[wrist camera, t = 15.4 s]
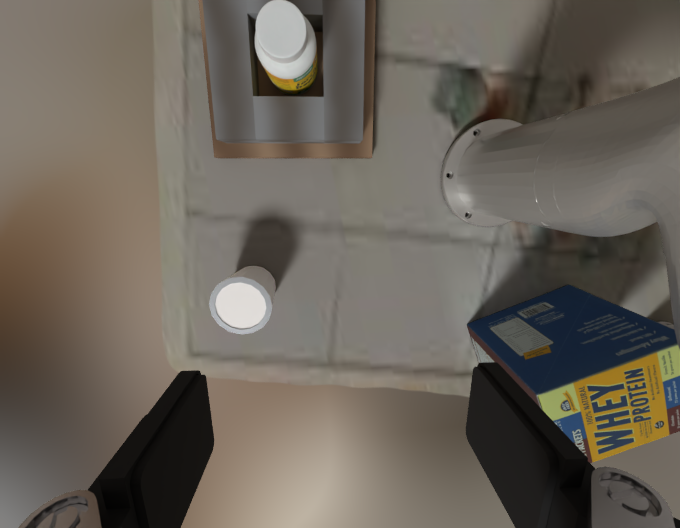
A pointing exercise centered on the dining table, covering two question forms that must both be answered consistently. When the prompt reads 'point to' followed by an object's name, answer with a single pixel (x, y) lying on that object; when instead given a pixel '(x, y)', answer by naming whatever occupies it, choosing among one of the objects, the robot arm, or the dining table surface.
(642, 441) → the protein box
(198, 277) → the dining table surface
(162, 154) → the dining table surface
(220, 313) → the white and grey cylinder
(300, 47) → the supplement bottle
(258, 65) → the holder
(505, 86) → the dining table surface
